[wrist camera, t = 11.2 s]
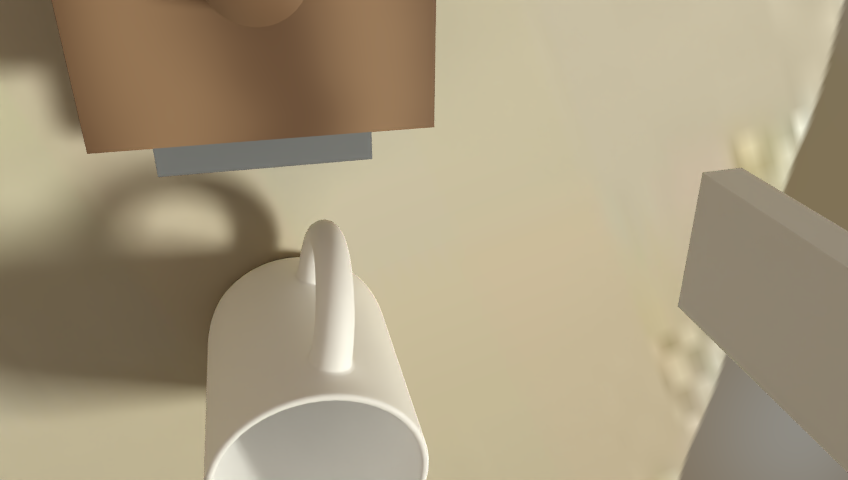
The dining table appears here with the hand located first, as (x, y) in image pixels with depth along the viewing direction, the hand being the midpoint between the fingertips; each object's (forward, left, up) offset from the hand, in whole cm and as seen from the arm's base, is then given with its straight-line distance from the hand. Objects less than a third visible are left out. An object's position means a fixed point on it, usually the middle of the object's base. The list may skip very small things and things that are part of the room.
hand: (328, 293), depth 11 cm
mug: (0, -13, -20) cm, 24 cm away
